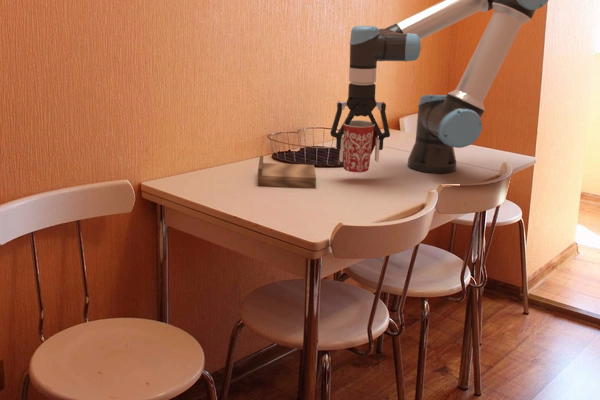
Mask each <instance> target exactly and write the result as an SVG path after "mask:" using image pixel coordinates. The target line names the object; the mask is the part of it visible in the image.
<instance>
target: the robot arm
mask: <svg viewBox="0 0 600 400" xmlns="http://www.w3.org/2000/svg"><path fill="white" fill-rule="evenodd" d="M548 2H549V0H441V1H438V2H437V3H435V4H433V5H431V6H428V7H426V8H424V9H422V10H420V11H418V12H417V13H413V14H412V15H410V16H407V18H404V19H401V20H400V21H397V22H396V23H394V24H392V25H389V26H387V27H385V28H378V27H377V26H374V25H356V26H355V25H354V26H353V27H352V28H351V29H350V39H349V40H350V41H349V69H348V70H349V71H348V74H349V75H348V81H349V84H348V92H347V94H348V95H347V100H346V101H339V100H338V101H337V102H336V108H337V109H336V113H335V116H334V120H333V122H332V125H331V129H330V137H333V138H335V140H336V144H335V145H336V149H337V150H339V161H340V163H342V162H343V163H344V126H343V123H342V124H341V127H339V129H338V126H339V123H340V119H341V116H342V113H343V110H345V108H346V107H347V109H349V112H348V114H347V116H346V118H345V120H344V121H343V122H344V124H346V125H349V124H350V122H351V120H354V118H355V117H365V118H367V117H368V118H369V121H370V122H372V124H373V125H374V124H375V126H374V128H375V130H376V132H377V134H378V138H376V144H375V147H374V150H375V151H374V161H375V163H379V160H380V151H383V149H384V139H386V138H390V137H391V133H390V126H389V123H388V119H387V113H386V109H387V108H386V107H387V104H386V102H384V101H381V102H380V101H379V102H378V101H376V84H375V83H376V82H377V64H378V62H412V61H413V62H414V61H417V60H418V59H419V57H420V55H421V49H422V48H421V47H422V44H421V40H423V39H425V38H427V37H429V36H431V35H433V34H435V33H437V32H439V31H441V30H443V29H446V28H448V27H450V26H452V25H454V24H456V23H458V22H461V21H462V20H464V19H467V18H468V17H470V16H473V15H474V14H477V13H479V12H482V13H487V12H488V11H491V10H493V13H492V16H491V18H490V20H489V22H488V23H487V26H486V27H485V30H484V32H483V34H482V36H481V38H480V40H479V41H478V44H477V46H476V48H475V49H474V52H473V54H472V56H471V57H470V60H469V62H468V63H467V66H466V68H465V70H464V71H463V74H462V76H461V78H460V80H459V83H458V84H457V86H456V88H455V89H454V90H452V91H450V92H448V93H447V94H422V95H421V96H420V97H419V102H418V106H417V107H418V108H417V109H418V110H417V120H416V130H415V131H416V133H415V134H416V135H415V140H414V141H415V142H414V144H413V146H412V149H411V152H410V153H409V156H408V159H407V167H409V168H410V169H412V170H416V171H419V172H422V173H423V172H424V173H429V174H430V173H431V174H448V173H454V172H455V171H456V170H457V158H456V153H455V149H454V148H457V149H460V148H467V147H468V146H471V145H472V144H473V143H475V142H476V140H477V139H479V137H480V135H481V133H482V130H483V124H482V117H483V115H484V113H485V110H486V108H485V105H484V101H485V99H486V97H487V95H488V93H489V91H490V89H491V87H492V85H493V83H494V81H495V79H496V77H497V75H498V73H499V71H500V69H501V67H502V66H503V63H504V62H505V59H506V58H507V55H508V53H509V52H510V49H511V47H512V46H513V44H514V41H515V40H516V37H517V35H518V34H519V31H520V30H521V27H522V26H523V25H524V24H526V23H529V22H531V20H532V18H533V16H534V14H535V13H536V11H537V10H539V9H540V8H542V7H544V6H545V5H546V4H547V3H548ZM376 107H377V109H378V111H379V113H380V118H381V123H382V127H383V132H382V130H381V128H380V127H379V124H378V123H377V121H376V118H375V117H374V115H373V110H375V108H376ZM337 129H338V131H337Z"/></svg>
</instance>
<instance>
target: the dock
mask: <svg viewBox="0 0 600 400" xmlns="http://www.w3.org/2000/svg"><path fill="white" fill-rule="evenodd" d="M258 160H259V161H258V168H257V186H259V187H260V186H261V187H283V188H284V187H286V188H287V187H288V188H289V187H291V188H312V189H313V188H316V186H317V185H316V184H317V177H316V176H317V175H316V169H315V164H303V163H302V164H301V163H299V164H298V163H297V164H296V163H275V162H274V163H272V162H270V163H269V162H264V156H262V155H260V156H259V159H258Z"/></svg>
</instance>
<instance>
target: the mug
mask: <svg viewBox="0 0 600 400" xmlns="http://www.w3.org/2000/svg"><path fill="white" fill-rule="evenodd" d="M342 124H343V126H344V134H343V139H344V146H343V170H344V171H347V172H350V173H367V172H368V171H369V170H370V162H371V155H372V153H373V151H374V150H375V144H376V138H379V136H378V134H377V132H376V130H375V128H374V126H375V124H374V125H373V124H372V122H371V121H367V120H359V119H355V120H354V119H352V120H351V122H350V124H349V125H346V124H344V121H343V122H342Z"/></svg>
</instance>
